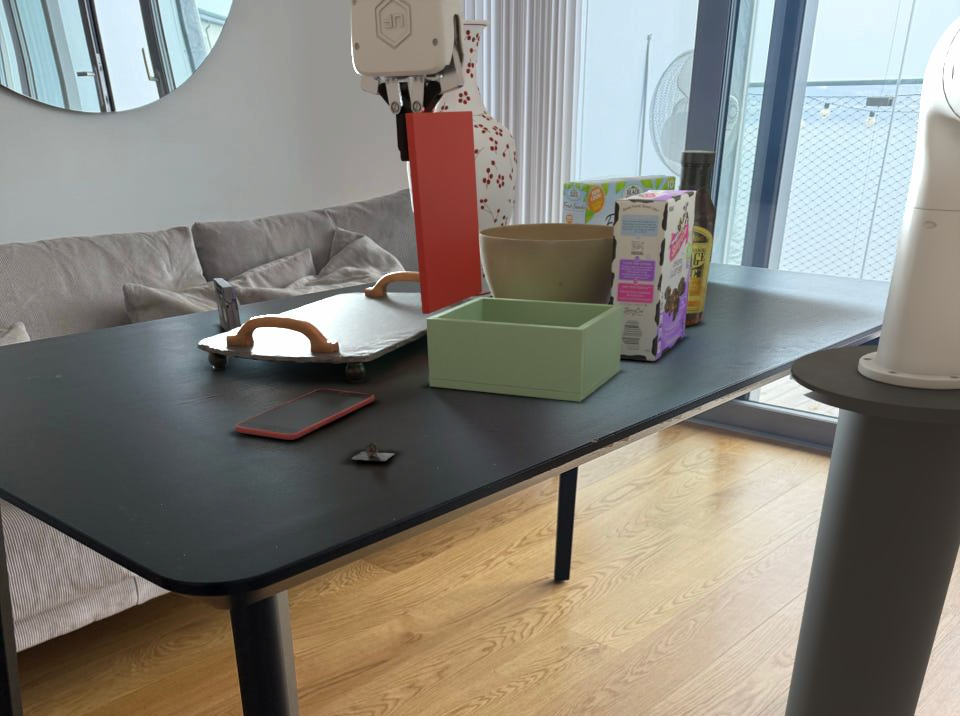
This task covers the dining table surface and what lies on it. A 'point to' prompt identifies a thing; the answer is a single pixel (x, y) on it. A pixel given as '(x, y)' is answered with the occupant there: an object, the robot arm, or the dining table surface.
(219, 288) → the mini dv tape
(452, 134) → the lid
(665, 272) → the candy box
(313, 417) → the smartphone
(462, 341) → the open storage box
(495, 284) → the flower pot
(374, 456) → the square plate with knob
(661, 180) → the snack box
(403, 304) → the serving tray
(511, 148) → the vase
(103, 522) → the dining table surface
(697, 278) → the sauce bottle
